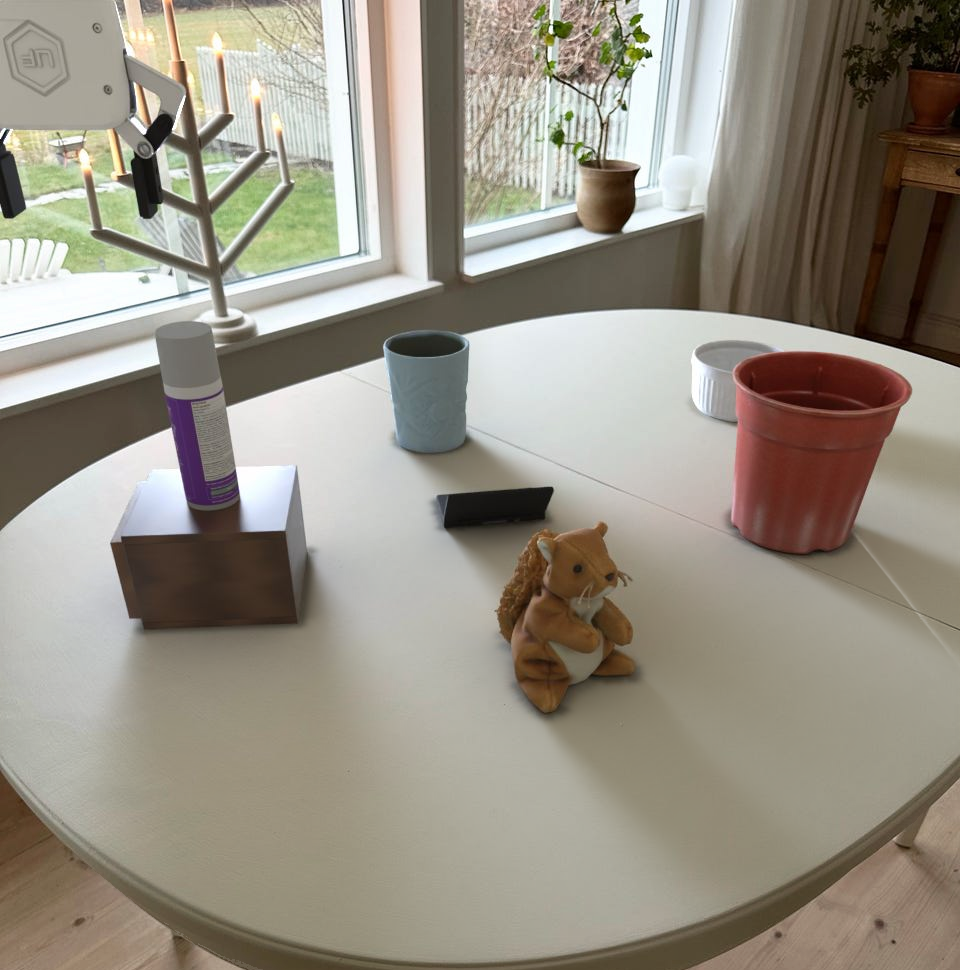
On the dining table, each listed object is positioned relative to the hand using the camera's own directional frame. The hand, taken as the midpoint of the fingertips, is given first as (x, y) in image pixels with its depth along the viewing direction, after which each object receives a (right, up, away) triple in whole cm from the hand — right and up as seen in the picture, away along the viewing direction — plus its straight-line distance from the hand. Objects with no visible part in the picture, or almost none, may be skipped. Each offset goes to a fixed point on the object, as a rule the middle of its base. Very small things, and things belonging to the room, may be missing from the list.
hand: (83, 214), depth 70 cm
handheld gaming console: (+31, -19, +31) cm, 48 cm away
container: (+6, -19, +14) cm, 24 cm away
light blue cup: (+23, -7, +48) cm, 54 cm away
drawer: (+3, -26, +19) cm, 32 cm away
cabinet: (+6, -27, +20) cm, 34 cm away
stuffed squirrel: (+36, -33, +12) cm, 50 cm away
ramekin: (+63, -1, +56) cm, 85 cm away
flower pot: (+62, -20, +30) cm, 72 cm away
